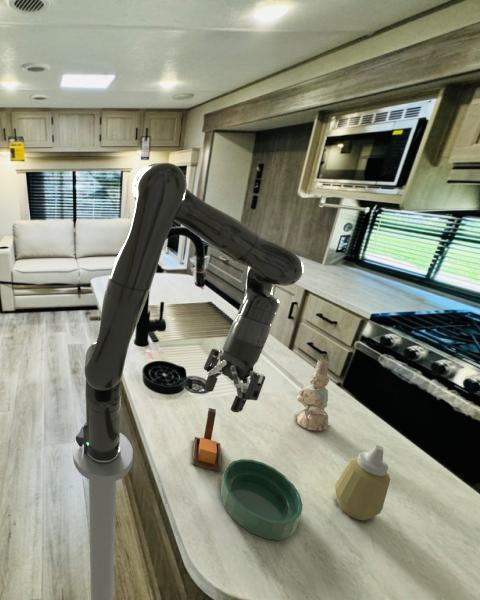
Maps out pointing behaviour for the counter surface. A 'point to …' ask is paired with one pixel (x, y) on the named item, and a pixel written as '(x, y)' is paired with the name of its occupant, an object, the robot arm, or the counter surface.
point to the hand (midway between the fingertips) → (220, 400)
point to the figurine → (315, 400)
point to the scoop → (208, 436)
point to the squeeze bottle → (363, 485)
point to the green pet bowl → (261, 499)
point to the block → (207, 450)
